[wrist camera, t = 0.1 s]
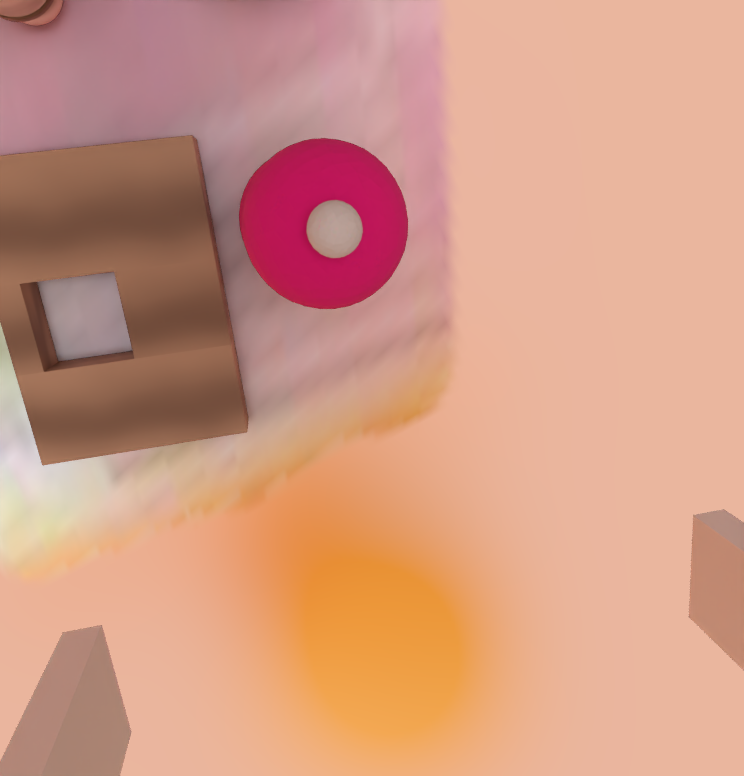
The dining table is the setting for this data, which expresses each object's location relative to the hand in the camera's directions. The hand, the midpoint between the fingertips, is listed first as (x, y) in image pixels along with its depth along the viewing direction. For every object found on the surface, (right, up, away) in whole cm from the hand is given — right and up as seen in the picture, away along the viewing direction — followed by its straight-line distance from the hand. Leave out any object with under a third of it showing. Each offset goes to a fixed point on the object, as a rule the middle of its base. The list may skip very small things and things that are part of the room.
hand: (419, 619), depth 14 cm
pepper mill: (-5, +15, +24) cm, 29 cm away
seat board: (-16, +10, +24) cm, 30 cm away
